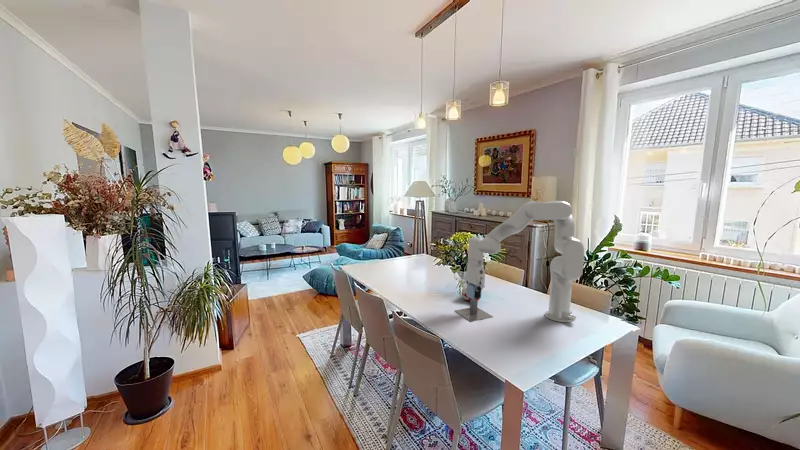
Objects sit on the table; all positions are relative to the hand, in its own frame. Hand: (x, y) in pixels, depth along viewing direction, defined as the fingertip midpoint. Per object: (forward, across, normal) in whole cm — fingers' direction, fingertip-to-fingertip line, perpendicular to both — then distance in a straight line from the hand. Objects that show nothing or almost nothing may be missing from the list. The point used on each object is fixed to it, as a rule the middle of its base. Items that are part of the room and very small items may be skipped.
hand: (473, 296), depth 158 cm
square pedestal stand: (+10, 0, 0) cm, 10 cm away
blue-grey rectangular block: (+1, 0, 0) cm, 1 cm away
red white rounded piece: (+10, +17, -11) cm, 23 cm away
